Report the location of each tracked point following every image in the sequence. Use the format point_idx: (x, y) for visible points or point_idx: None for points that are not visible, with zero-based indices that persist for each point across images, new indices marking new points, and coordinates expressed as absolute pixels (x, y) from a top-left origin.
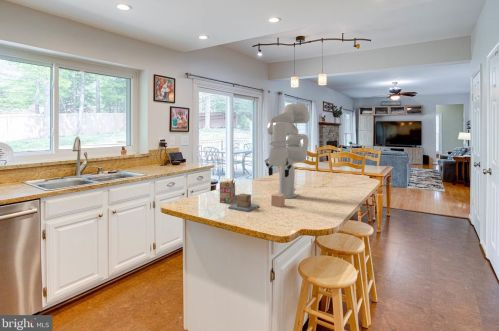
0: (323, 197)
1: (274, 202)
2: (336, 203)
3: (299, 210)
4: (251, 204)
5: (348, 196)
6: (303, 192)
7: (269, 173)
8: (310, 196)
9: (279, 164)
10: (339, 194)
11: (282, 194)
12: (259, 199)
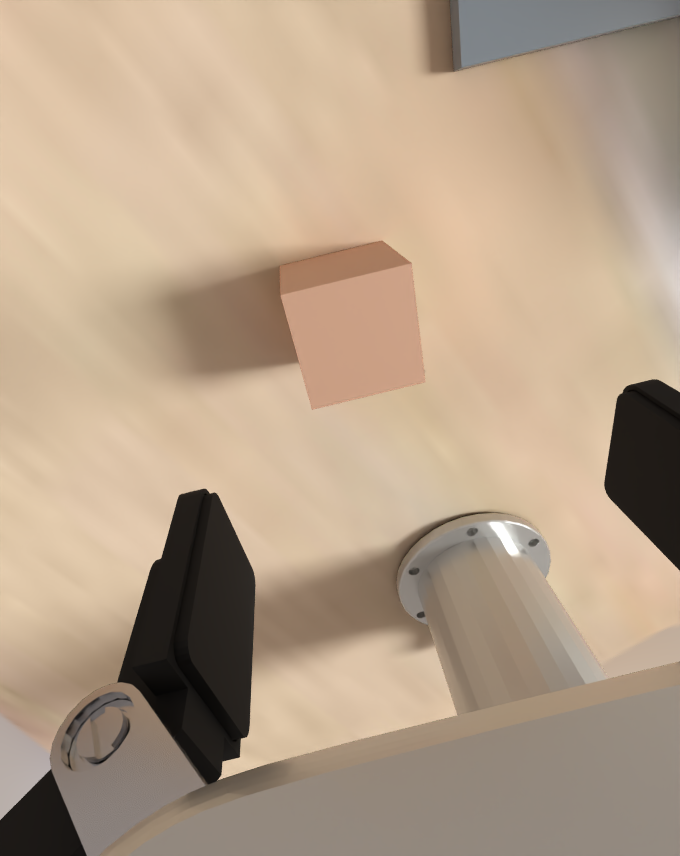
0: (262, 688)
1: (352, 256)
2: (87, 649)
3: (57, 303)
4: (559, 12)
5: None
6: (436, 689)
7: (673, 404)
8: (338, 658)
9: (398, 842)
10: (249, 769)
11: (337, 396)
12: (607, 350)
